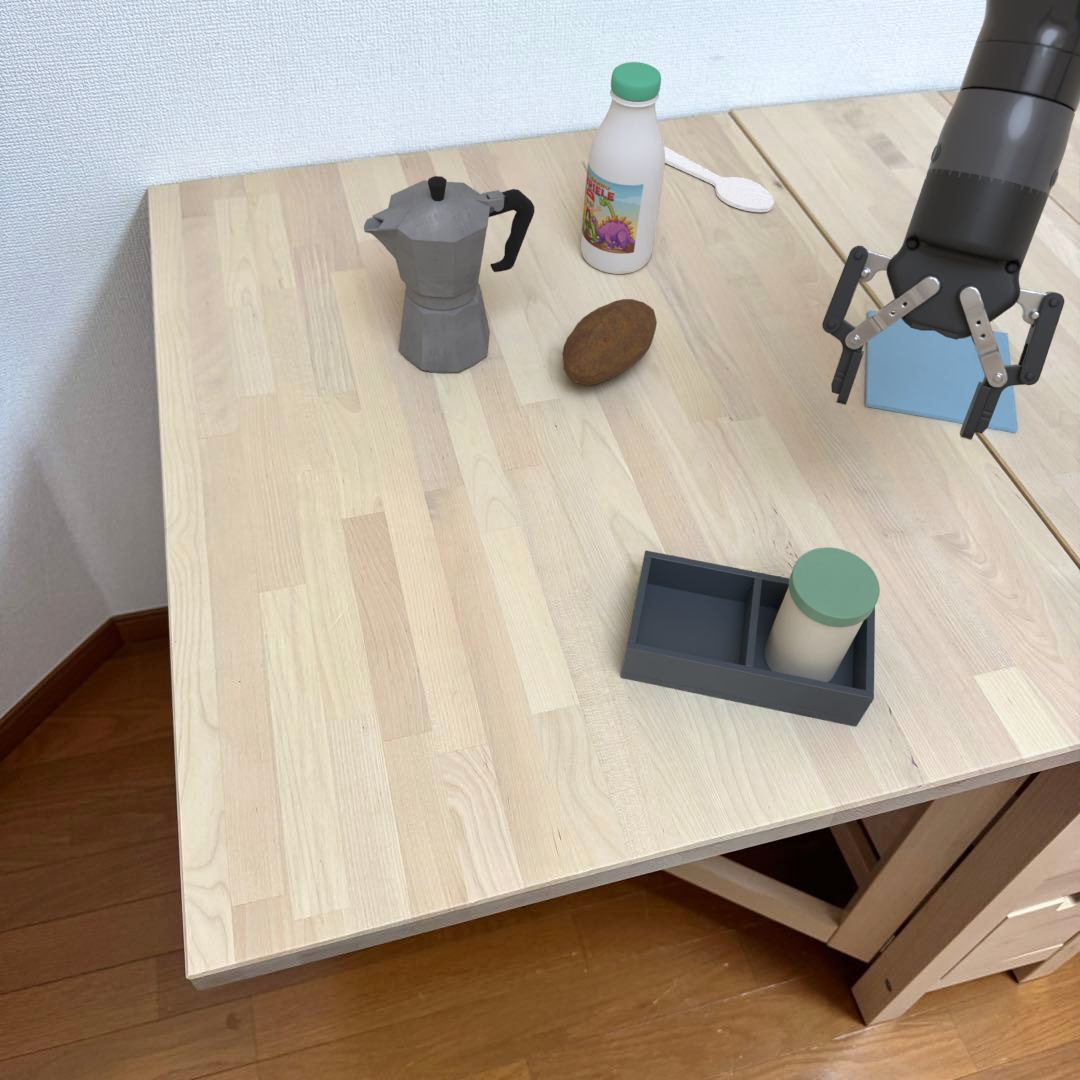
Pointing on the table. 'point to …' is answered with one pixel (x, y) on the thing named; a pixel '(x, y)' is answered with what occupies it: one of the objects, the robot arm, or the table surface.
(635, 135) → the milk bottle
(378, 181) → the table surface
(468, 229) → the coffeepot
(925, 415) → the mat
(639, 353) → the potato
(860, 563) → the container
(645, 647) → the divided tray
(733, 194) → the spoon
